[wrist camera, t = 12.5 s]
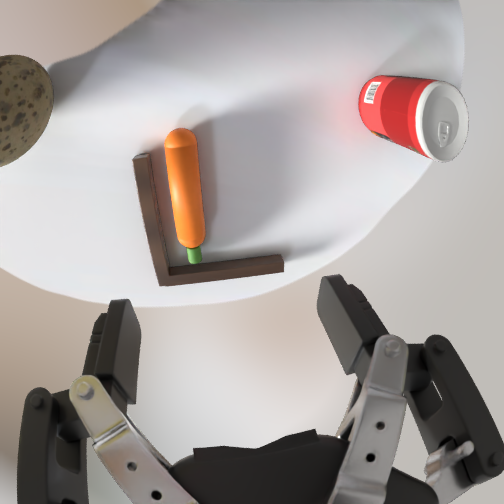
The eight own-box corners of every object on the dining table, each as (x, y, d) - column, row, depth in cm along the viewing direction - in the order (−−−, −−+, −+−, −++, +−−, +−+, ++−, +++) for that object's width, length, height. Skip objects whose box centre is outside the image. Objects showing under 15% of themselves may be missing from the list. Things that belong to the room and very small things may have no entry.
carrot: (162, 129, 25) (163, 132, 22) (193, 124, 26) (198, 127, 23) (180, 255, 33) (183, 270, 31) (206, 250, 34) (211, 264, 32)
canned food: (363, 143, 30) (424, 172, 21) (348, 80, 25) (413, 85, 16) (409, 129, 29) (471, 154, 20) (398, 71, 25) (464, 79, 16)
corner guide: (135, 155, 26) (131, 159, 25) (283, 141, 28) (288, 144, 27) (160, 278, 35) (159, 287, 33) (280, 264, 37) (283, 272, 36)
